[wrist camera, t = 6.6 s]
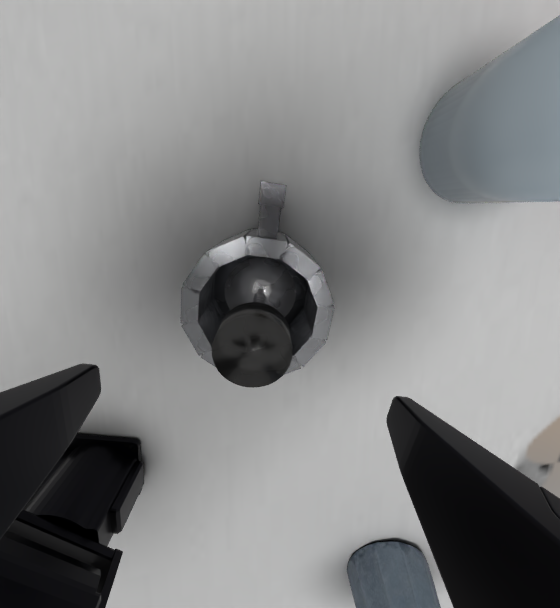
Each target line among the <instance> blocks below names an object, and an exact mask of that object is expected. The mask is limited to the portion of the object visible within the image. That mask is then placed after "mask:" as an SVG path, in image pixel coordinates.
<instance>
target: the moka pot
mask: <svg viewBox="0 0 560 608" xmlns="http://www.w3.org/2000/svg"><path fill="white" fill-rule="evenodd" d="M347 573H348V577H349V582H350V586H351V590H352V594H353V598H354V601H355V605H356V608H441V607H440V604H439V600H438V597H437V593H436V589H435V585H434V582H433V579H432V575H431V572H430V569H429V566H428V563H427V560H426V558H425V556H424V554H423V553H422V552H421V551H419V550H418V549H417V548H415V547H413V546H411V545H408V544H404V543H401V542H377V543H374V544H370V545H367V546H365V547H363V548H361V549H359V550H358V551H356V552H355V553H354V554H353V556H352V557H351V558H350V560H349V563H348V568H347Z"/></svg>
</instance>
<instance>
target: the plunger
mask: <svg viewBox="0 0 560 608" xmlns="http://www.w3.org/2000/svg"><path fill="white" fill-rule="evenodd" d="M295 298H296V288H295V283H294V280H293V277H292V275H291V274H290V272H289V271H288V269H287V268H286V267H285V266H284V265H283V264H281V263H280V262H278V261H276V260H274V259H271V258H268V257H252V258H249V259H246V260H244V261H242V262H241V263H239V264H238V265H237V266H236V267H235V268H234V269H233V270H232V271H231V273H230V274H229V276H228V278H227V281H226V284H225V299H226V302H227V305H228V307H229V309H230V311H229V312H228V313H227V314H226V315H225V317H224V318H223V320H222V322H221V324H220V327H219V329H218V331H217V333H216V336H215V338H214V340H213V344H212V359H213V362H214V364H215V366H216V368H217V370H218V371H219V372H220V373H221V375H223V376H224V377H225V378H226V379H227V380H229V381H231V382H232V383H235V384H237V385H240V386H244V387H261V386H265V385H269V384H271V383H273V382H275V381H277V380H278V379H279V378H281V377H282V376H283V375H284V374H285V372H286V371H287V369H288V368H289V366H290V363H291V360H292V354H293V352H292V343H291V336H290V329H289V326H288V323H287V321H286V319H285V318H284V317H285V316H286V315H287V314H288V313H289V312H290V310H291V309H292V307H293V305H294V302H295Z"/></svg>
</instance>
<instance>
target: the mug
mask: <svg viewBox="0 0 560 608" xmlns="http://www.w3.org/2000/svg"><path fill="white" fill-rule="evenodd" d="M420 165H421V169H422V173H423V176H424V178H425V180H426V182H427V184H428V185H429V187H430V188H431V189H432V190H433V191H434V192H435V193H436V194H437V195H438V196H440V197H441V198H443V199H445V200H448V201H450V202H454V203H462V204H465V203H510V202H554V201H560V15H559V16H558V17H556V18H555V19H553V20H552V21H550V22H549V23H547V24H546V25H544V26H543V27H541V28H540V29H538V30H537V31H535V32H534V33H532V34H531V35H529V36H528V37H526V38H525V39H523V40H522V41H520V42H519V43H517V44H516V45H514V46H513V47H511V48H510V49H508V50H507V51H505V52H504V53H503V54H501V55H500V56H498V57H497V58H495V59H494V60H492V61H491V62H489V63H488V64H486V65H485V66H483V67H482V68H480V69H479V70H477V71H476V72H474V73H473V74H471V75H470V76H468V77H467V78H465V79H464V80H462V81H461V82H459V83H458V84H456V85H455V86H453V87H452V88H451V89H450V90H449V91H448V92H447V93H445V95H444V96H443V97H442V98H441V99H440V100H439V101H438V103H437V104H436V105H435V107H434V108H433V110H432V112H431V113H430V115H429V117H428V119H427V122H426V124H425V126H424V129H423V132H422V137H421V141H420Z"/></svg>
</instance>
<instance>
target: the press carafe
mask: <svg viewBox="0 0 560 608" xmlns="http://www.w3.org/2000/svg"><path fill="white" fill-rule="evenodd" d="M285 192H286V185H284V184H277V183H271V182H265V181H261V185H260V194H259V203H258V204H261V206H260V215H259V224H258V229H252V230H251V229H249V230H247V231H245V232H242V233H240V234H237V235H235V236H233V237H230V238H228V239H226V240H223V241H222V242H220V243H219V244H217V245H216V246H214V247H213V248H211V249H210V250H208V251H207V252H206V253H205V254H203V256H202V257H201V259H200V260H199V262H198V263H197V265H196V266H195V267H194V269H193V270H192V272H191V273H190V275H189V276H188V278H187V279H186V280H185V282H184V283H183V287H182V291H181V323H183V325H182V327H183V329H184V331H185V333H186V334H187V336H188V338H189V339H190V341H191V343H192V345H193V346H194V348H195V350H196V351H197V353H198V355H202V356H201V358H202V359H204V360H206V361H207V362H209V363H210V364H212V365H214V366H215V364H214V362H213V359H212V344H213V340H214V338H215V336H216V333H217V331H218V329H219V327H220V324H221V322H222V320H223V318H224V317H225V315H226V314H227V313H228V312H229V311H230V309H229V307H228V305H227V302H226V299H225V284H226V281H227V278H228V276H229V274H230V273H231V271H232V270H233V269H234V268H235V267H236V266H237V265H238V264H239V263H241V262H242V261H244V260H246V259H249V258H252V257H268V258H271V259H274V260H276V261H278V262H280V263H281V264H283V265H284V266H285V267H286V268H287V269H288V271H289V272H290V274H291V275H292V277H293V280H294V283H295V288H296V298H295V302H294V305H293V307H292V309H291V310H290V312H289V313H288V314H287V315H286V316H285V317H284V318H285V319H286V321H287V323H288V326H289V329H290V336H291V343H292V352H293V354H292V360H291V363H290V366H289V368H288V369H287V371H286V372H285V374H287V373H289V372H292V371H295V370H298V369H301V366H303V367H304V366H305V364H306V363H307V362H308V361H309V360H310V359H311V358H312V357H313V356H314V355H315V354H316V353H317V351H318V350H319V349H320V348H321V347H322V346H323V345H324V344H325V343H326V341H325V340H327V339H328V334H329V330H330V325H331V321H332V316H333V312H334V305H333V304H334V301H333V299H332V296H331V293H330V290H329V287H328V285H327V282H326V279H325V276H324V273H323V270H322V269H321V267H320V266H319V265H318V264H317V263H316V261H315V260H314V259H313V258H312V256H311V255H310V254H309V253H308V252H307V251H306V250H305V249H303V248H302V247H301V246H300V245H299V244H297V243H296V242H295V241H294V240H292V239H291V238H290V237H289V236H287V235H286V234H285V235H284V234H283V233H281V232H278V227H279V220H280V212H281V208H282V207H283V206H284V199H285ZM215 367H216V366H215Z"/></svg>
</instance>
